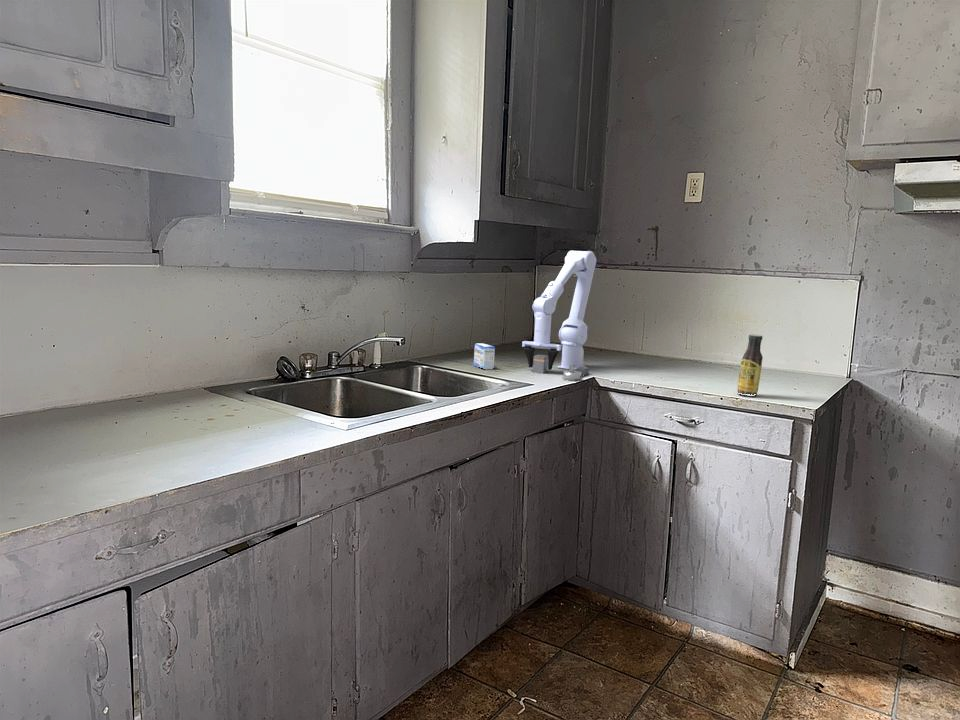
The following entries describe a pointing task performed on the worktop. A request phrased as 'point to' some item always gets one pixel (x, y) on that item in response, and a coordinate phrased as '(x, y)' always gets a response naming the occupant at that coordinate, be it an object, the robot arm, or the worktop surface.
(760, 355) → the sauce bottle
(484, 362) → the medicine box
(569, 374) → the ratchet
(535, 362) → the socket
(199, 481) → the worktop surface
